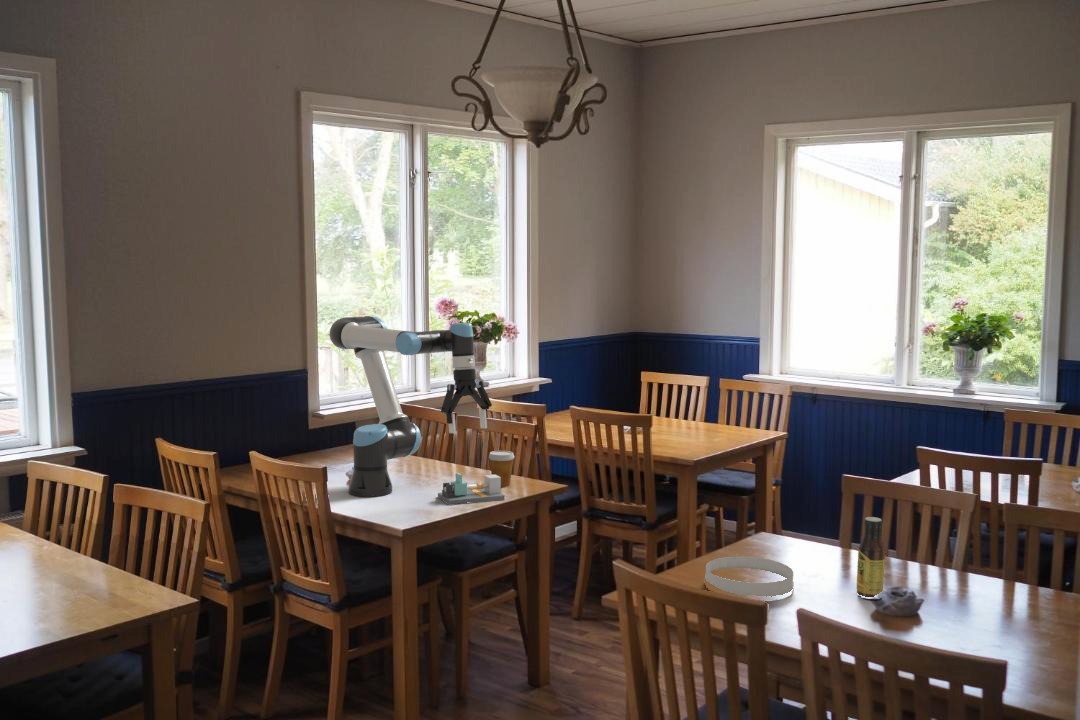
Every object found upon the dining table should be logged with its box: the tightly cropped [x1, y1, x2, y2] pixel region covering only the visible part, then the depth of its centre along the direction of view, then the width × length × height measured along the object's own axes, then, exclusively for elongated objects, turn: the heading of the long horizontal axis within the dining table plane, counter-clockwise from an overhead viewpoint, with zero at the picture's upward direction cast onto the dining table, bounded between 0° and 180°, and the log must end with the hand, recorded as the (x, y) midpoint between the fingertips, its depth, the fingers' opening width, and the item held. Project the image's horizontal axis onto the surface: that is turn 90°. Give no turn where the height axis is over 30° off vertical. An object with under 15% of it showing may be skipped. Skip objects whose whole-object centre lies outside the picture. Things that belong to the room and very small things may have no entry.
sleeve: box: [450, 472, 468, 496], centre depth 338 cm, size 4×4×7 cm
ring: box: [704, 555, 795, 597], centre depth 250 cm, size 22×22×5 cm
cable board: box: [437, 474, 505, 505], centre depth 341 cm, size 12×20×7 cm, turn 115°
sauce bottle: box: [856, 516, 886, 597], centre depth 242 cm, size 6×6×20 cm
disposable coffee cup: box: [488, 450, 515, 488], centre depth 361 cm, size 10×10×12 cm
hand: (468, 430), depth 336 cm, fingers open, 13 cm apart
